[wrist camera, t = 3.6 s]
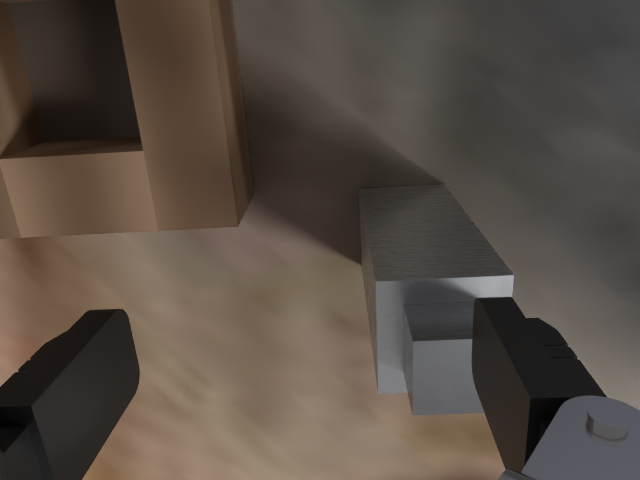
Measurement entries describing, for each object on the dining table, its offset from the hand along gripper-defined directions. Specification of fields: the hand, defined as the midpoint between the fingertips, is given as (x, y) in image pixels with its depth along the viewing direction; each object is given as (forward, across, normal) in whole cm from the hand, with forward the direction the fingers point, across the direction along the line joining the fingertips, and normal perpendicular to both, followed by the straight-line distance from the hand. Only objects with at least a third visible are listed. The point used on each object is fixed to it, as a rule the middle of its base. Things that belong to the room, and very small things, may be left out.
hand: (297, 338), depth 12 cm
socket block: (+13, +9, -6) cm, 17 cm away
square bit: (+14, -4, +2) cm, 14 cm away
